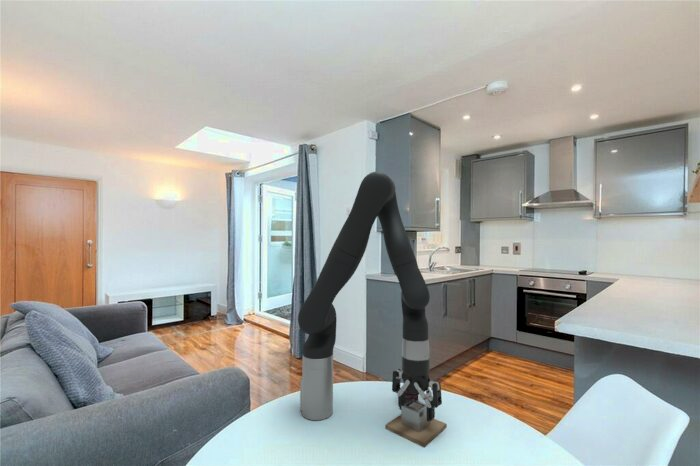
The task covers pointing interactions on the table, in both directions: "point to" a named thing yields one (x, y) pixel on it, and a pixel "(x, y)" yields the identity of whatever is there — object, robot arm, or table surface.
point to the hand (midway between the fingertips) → (415, 414)
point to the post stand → (414, 436)
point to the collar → (414, 416)
